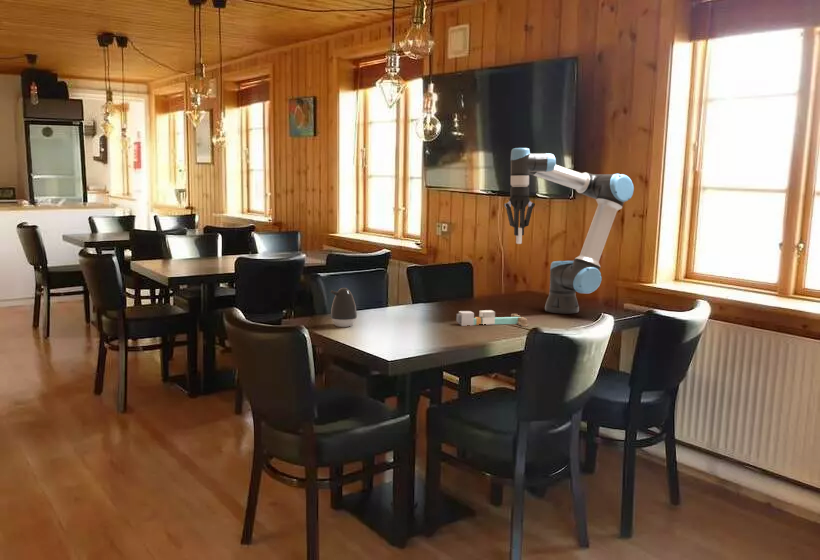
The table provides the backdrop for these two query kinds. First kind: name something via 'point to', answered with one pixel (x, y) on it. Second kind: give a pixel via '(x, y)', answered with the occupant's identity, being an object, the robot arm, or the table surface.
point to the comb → (520, 320)
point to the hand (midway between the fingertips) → (518, 243)
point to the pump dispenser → (343, 308)
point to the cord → (468, 319)
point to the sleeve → (487, 316)
